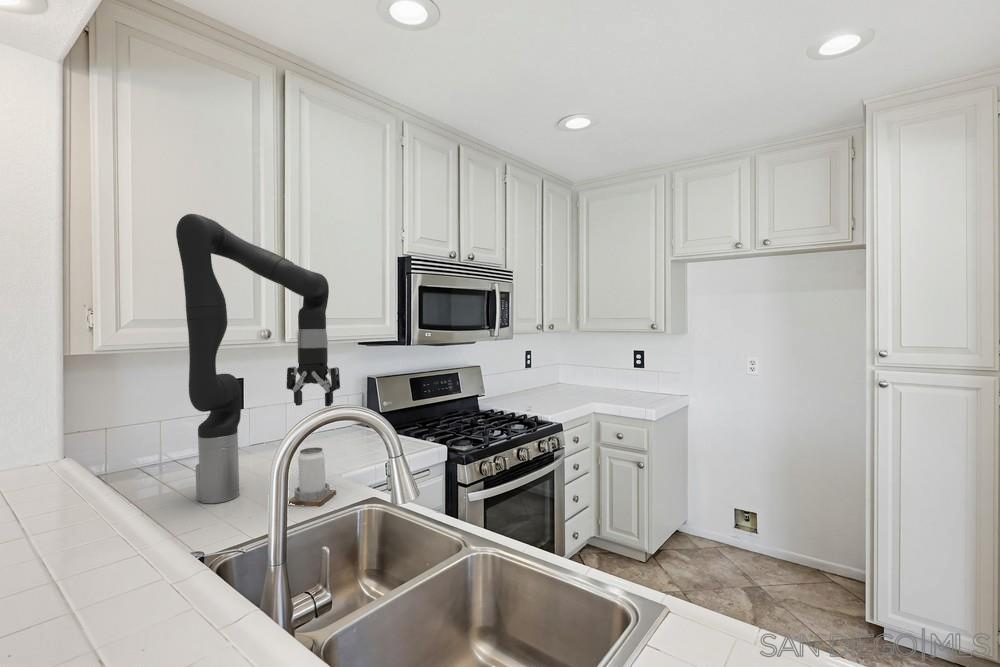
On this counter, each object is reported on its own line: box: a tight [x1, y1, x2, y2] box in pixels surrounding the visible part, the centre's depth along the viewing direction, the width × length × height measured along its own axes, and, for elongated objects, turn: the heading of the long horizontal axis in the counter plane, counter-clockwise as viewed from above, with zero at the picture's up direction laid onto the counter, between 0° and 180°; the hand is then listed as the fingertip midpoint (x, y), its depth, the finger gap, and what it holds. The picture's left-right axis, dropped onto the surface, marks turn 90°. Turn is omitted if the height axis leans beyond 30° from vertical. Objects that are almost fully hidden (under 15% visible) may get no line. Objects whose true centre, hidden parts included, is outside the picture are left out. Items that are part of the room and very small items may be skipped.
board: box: [288, 489, 337, 508], centre depth 129 cm, size 9×9×1 cm
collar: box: [294, 482, 331, 501], centre depth 129 cm, size 9×9×2 cm
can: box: [297, 447, 326, 493], centre depth 129 cm, size 6×6×12 cm
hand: (313, 405), depth 132 cm, fingers open, 8 cm apart
